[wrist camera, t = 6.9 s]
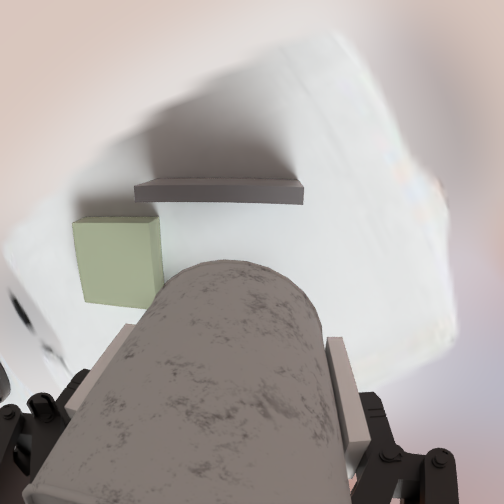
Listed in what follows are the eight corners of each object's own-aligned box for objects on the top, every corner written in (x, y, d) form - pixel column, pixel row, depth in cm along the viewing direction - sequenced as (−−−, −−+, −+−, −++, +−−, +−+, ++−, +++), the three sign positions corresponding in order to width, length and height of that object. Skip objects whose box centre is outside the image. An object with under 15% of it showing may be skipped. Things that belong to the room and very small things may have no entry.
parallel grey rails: (169, 327, 31) (153, 356, 26) (157, 178, 26) (134, 186, 22) (288, 335, 30) (290, 366, 26) (298, 180, 26) (303, 187, 21)
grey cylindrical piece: (121, 283, 16) (-33, 454, 4) (300, 237, 14) (358, 508, 3) (186, 410, 19) (135, 577, 7) (334, 388, 17) (363, 584, 6)
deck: (96, 291, 30) (84, 302, 28) (85, 216, 28) (72, 223, 25) (165, 297, 30) (157, 310, 28) (159, 216, 27) (149, 223, 25)
